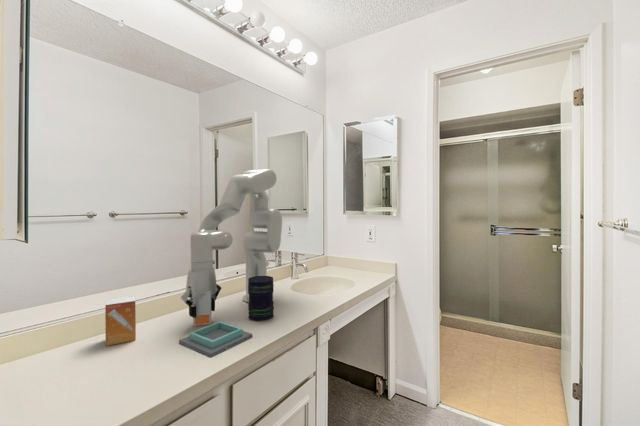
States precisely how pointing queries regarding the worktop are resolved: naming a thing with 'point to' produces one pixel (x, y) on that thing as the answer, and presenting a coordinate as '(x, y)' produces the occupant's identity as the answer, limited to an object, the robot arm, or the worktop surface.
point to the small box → (120, 320)
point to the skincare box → (203, 310)
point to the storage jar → (260, 298)
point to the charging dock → (215, 338)
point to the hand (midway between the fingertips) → (202, 313)
